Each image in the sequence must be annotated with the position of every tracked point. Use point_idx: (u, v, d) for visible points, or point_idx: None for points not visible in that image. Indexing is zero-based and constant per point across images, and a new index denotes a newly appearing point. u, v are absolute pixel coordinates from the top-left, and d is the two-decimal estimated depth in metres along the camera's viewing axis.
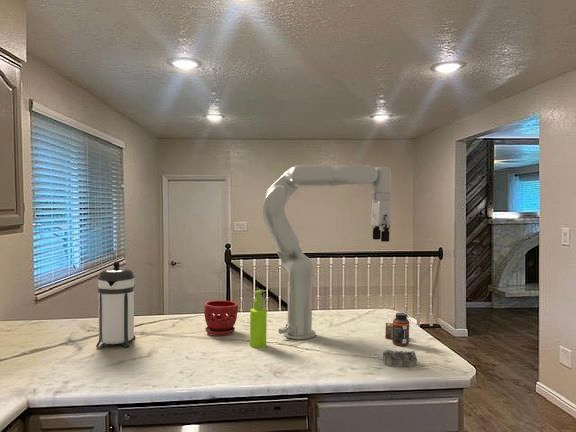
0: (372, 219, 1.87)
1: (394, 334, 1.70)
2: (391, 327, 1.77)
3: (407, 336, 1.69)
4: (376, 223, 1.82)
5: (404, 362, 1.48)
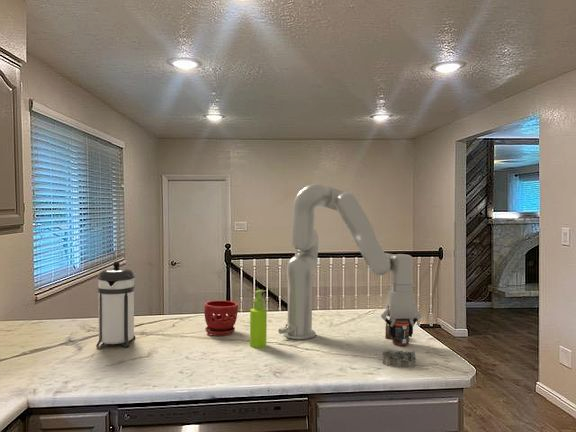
0: None
1: None
2: None
3: (407, 336, 1.69)
4: None
5: (403, 362, 1.48)
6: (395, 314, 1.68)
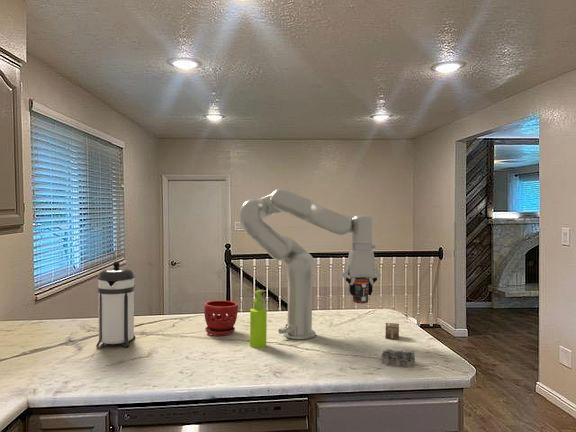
0: None
1: None
2: (391, 327, 1.77)
3: (366, 294, 1.74)
4: None
5: (402, 362, 1.48)
6: (355, 273, 1.73)
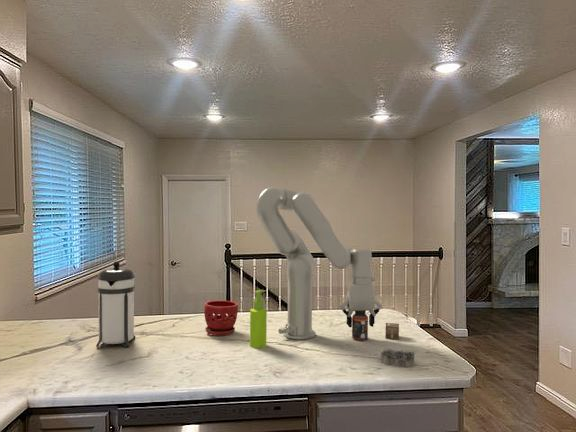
0: None
1: (353, 329, 1.76)
2: (391, 327, 1.77)
3: (365, 331, 1.75)
4: None
5: (401, 361, 1.48)
6: (354, 306, 1.74)
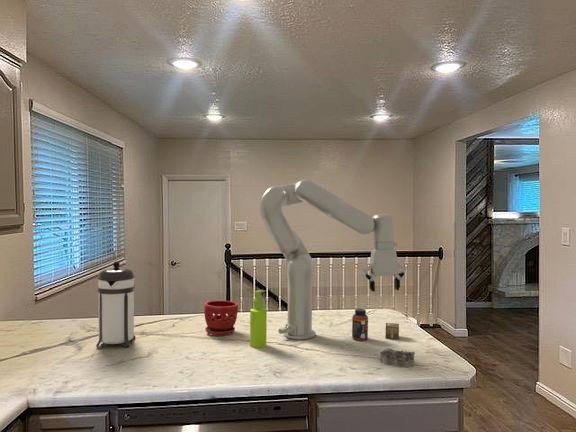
0: None
1: (353, 329, 1.76)
2: (391, 327, 1.77)
3: (365, 331, 1.75)
4: None
5: (400, 361, 1.49)
6: (378, 271, 1.75)
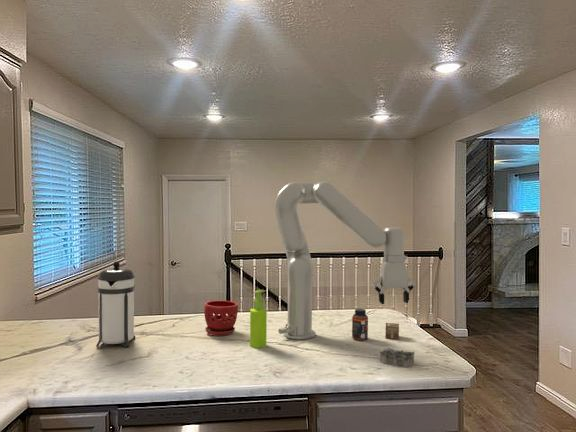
0: None
1: (353, 329, 1.76)
2: (391, 327, 1.77)
3: (365, 331, 1.75)
4: None
5: (399, 361, 1.49)
6: (388, 284, 1.76)
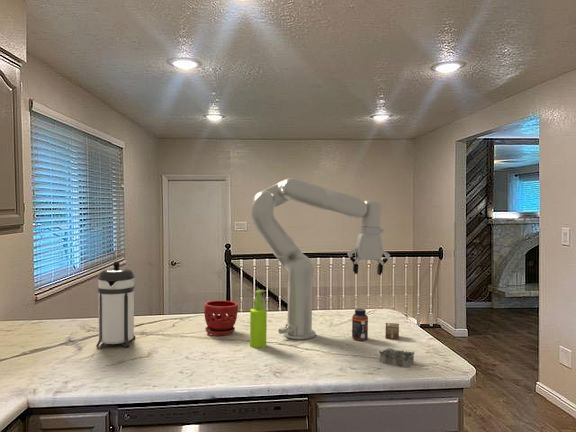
0: None
1: (353, 329, 1.76)
2: (391, 327, 1.77)
3: (365, 331, 1.75)
4: None
5: (399, 361, 1.49)
6: (362, 254, 1.81)
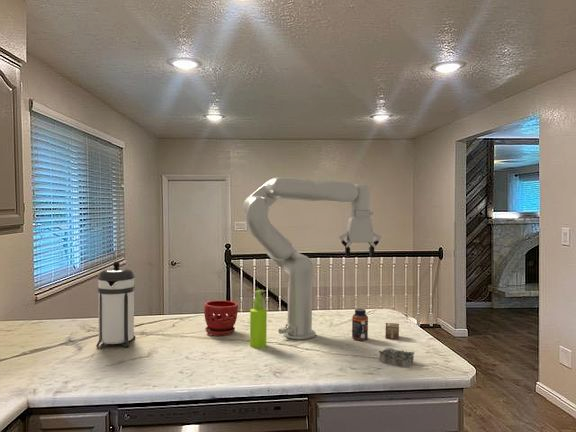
0: None
1: (353, 329, 1.76)
2: (391, 327, 1.77)
3: (365, 331, 1.75)
4: None
5: (398, 361, 1.49)
6: (354, 238, 1.84)
